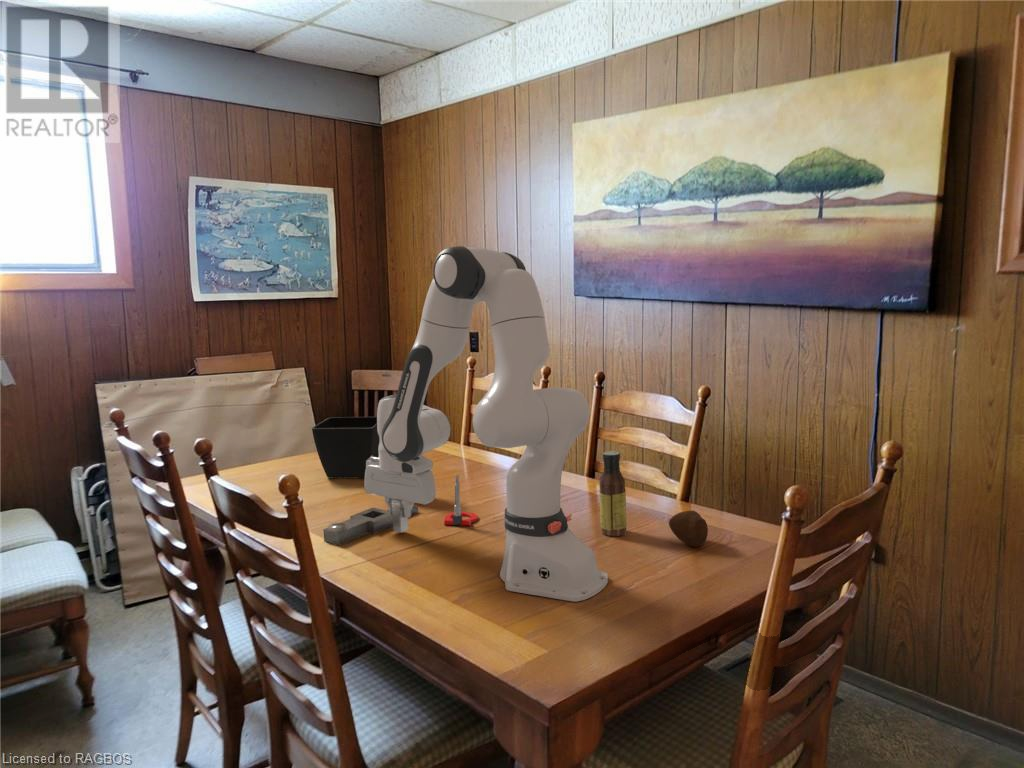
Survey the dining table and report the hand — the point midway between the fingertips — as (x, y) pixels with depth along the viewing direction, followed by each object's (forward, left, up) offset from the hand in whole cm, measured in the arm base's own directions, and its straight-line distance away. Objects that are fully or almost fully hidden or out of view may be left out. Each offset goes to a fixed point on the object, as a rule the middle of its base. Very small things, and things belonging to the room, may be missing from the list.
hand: (400, 515), depth 175 cm
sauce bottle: (-44, -27, -5) cm, 52 cm away
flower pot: (+50, -32, -5) cm, 60 cm away
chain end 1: (+9, +5, -4) cm, 11 cm away
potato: (-62, -30, -5) cm, 69 cm away
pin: (0, 0, -4) cm, 4 cm away
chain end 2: (+9, -5, -4) cm, 12 cm away
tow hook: (-7, -15, -5) cm, 17 cm away
